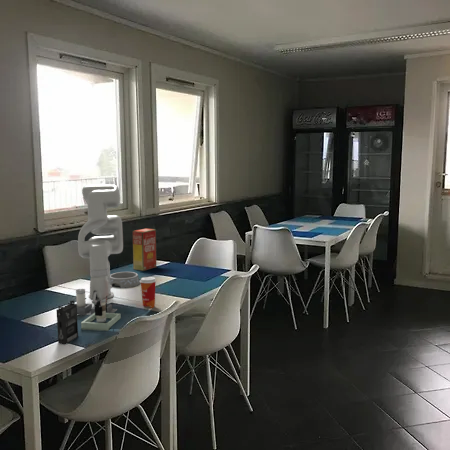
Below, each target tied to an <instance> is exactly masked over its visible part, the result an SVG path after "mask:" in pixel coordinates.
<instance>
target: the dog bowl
mask: <svg viewBox="0 0 450 450" xmlns="http://www.w3.org/2000/svg"><path fill="white" fill-rule="evenodd" d="M140 281H141V279H140V277H139V274H138V273H137V272H134V271H120V272H119V271H118V272H115V273H110V285H112V286H113V285H114V286H116V287H117V286H118V287H120V288H121V289H122V288H125V287H126V288H132V287H136V286H139V285H141V282H140Z"/></svg>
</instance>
